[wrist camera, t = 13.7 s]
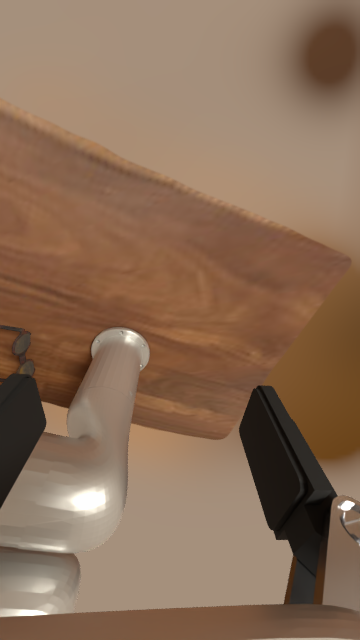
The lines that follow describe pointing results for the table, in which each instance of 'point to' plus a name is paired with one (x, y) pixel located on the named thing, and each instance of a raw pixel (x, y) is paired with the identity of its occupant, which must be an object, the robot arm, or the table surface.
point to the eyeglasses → (21, 351)
